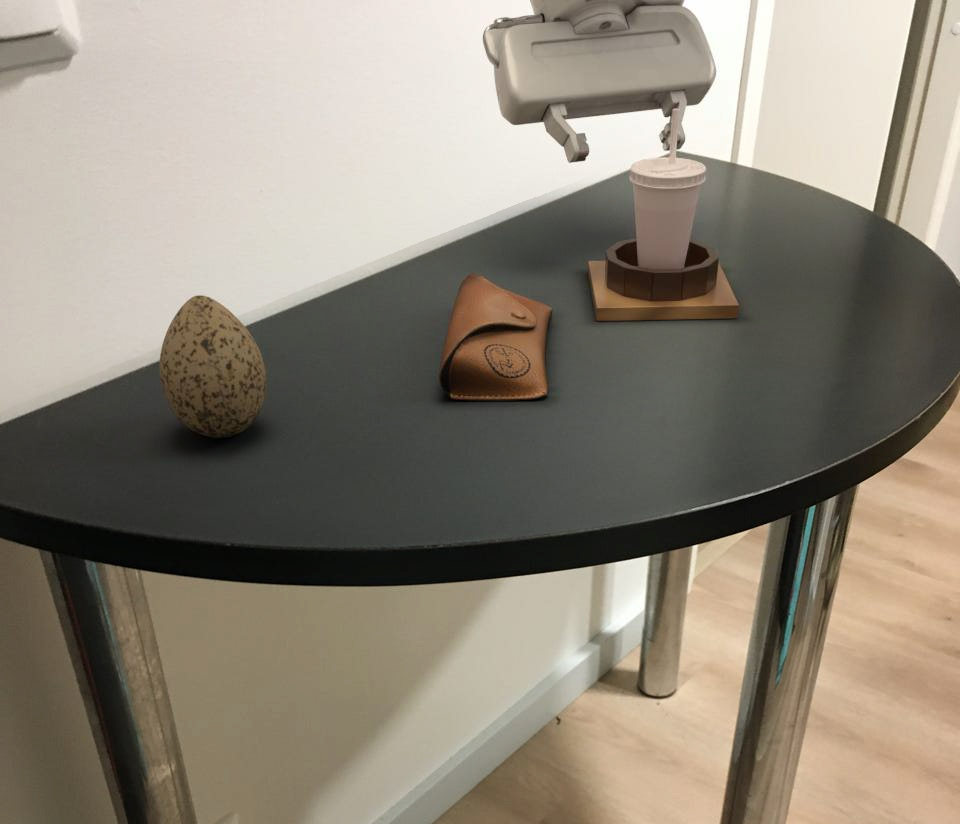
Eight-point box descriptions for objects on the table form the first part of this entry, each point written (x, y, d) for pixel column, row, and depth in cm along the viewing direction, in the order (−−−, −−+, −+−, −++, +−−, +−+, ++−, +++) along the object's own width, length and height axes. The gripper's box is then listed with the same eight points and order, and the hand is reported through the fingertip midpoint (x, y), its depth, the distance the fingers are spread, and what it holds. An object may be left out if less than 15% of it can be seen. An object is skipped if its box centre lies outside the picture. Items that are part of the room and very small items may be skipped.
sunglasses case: (554, 394, 82) (507, 319, 79) (474, 438, 84) (425, 367, 81) (554, 306, 96) (514, 240, 93) (486, 346, 99) (445, 283, 95)
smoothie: (710, 278, 99) (727, 108, 90) (669, 299, 95) (683, 123, 86) (650, 264, 102) (661, 98, 94) (609, 283, 98) (616, 112, 90)
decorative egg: (230, 465, 75) (204, 323, 69) (152, 443, 78) (120, 305, 72) (294, 423, 80) (275, 287, 74) (217, 404, 83) (193, 272, 77)
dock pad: (715, 270, 104) (720, 230, 101) (737, 318, 94) (742, 275, 92) (587, 273, 104) (589, 233, 102) (596, 321, 94) (597, 278, 92)
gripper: (485, -6, 94) (529, 143, 92) (699, -22, 99) (743, 118, 98) (469, 45, 100) (509, 186, 98) (671, 27, 105) (712, 160, 104)
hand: (628, 152), depth 98 cm, fingers open, 8 cm apart
